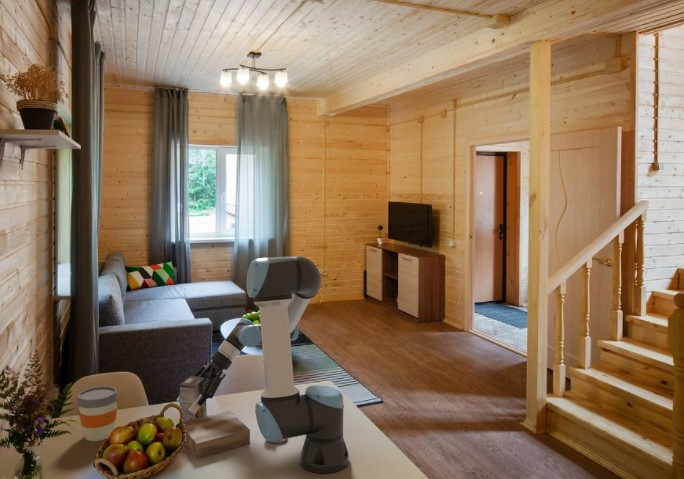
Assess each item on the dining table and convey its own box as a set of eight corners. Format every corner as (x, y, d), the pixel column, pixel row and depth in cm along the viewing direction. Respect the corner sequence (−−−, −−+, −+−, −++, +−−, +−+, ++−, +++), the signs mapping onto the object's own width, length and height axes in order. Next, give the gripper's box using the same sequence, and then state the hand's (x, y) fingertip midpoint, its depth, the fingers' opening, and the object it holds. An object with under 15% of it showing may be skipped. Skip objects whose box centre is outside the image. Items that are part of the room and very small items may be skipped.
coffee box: (191, 417, 199) (190, 375, 197) (207, 419, 197) (206, 376, 196) (179, 428, 190) (178, 384, 188) (196, 430, 189) (195, 385, 187)
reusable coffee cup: (126, 432, 186) (125, 391, 185) (92, 447, 176) (90, 403, 175) (105, 423, 193) (103, 383, 192) (71, 437, 183) (69, 394, 182)
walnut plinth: (250, 443, 179) (249, 429, 178) (196, 458, 169) (196, 443, 168) (229, 423, 194) (229, 410, 193) (179, 436, 184) (179, 422, 183)
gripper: (246, 369, 192) (205, 423, 184) (218, 353, 210) (180, 402, 202) (232, 358, 188) (190, 412, 180) (205, 343, 206) (166, 392, 198)
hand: (185, 407), depth 191 cm, fingers closed on coffee box, 10 cm apart
